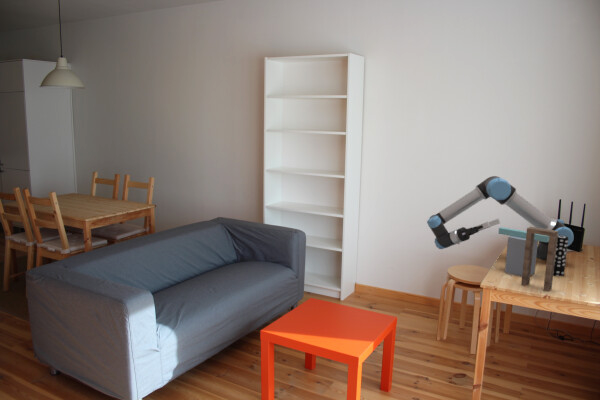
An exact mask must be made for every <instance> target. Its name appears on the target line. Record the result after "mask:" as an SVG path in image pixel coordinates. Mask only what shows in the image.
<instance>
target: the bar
mask: <svg viewBox="0 0 600 400" xmlns="http://www.w3.org/2000/svg"><path fill="white" fill-rule="evenodd" d="M526 234H527V230H520V229H516V228H515V229H514V228H510V227H509V228H508V227H503V226H502V227H498V235H503V236H508V237H510V236H514V237H520V238H525V239H526ZM534 240H536V241H538V242H539V241H542V242H549V236H545V235H539V234H535V236H534Z"/></svg>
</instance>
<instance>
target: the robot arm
mask: <svg viewBox="0 0 600 400" xmlns="http://www.w3.org/2000/svg"><path fill="white" fill-rule="evenodd" d="M489 198H491V199H493V200H495V201H496V202H497V203H499V204H500V205H501V206H503V205H506V206H507V207H508V208H510V209H511V210H512V211H513V212H515V213H516V214H518V216H520V217H521V218H523V219H524V220H525V221H526V222H528V223H529V224H530V225H532V227H536V228H542V229H548V230H554V231H558V235H563V236H567V237H568V246H567V247H569V246H570V245H572V243H573V242H574V238H575V237H574V232H573V231H572V229H571V228H570V227H567V226H566V225H565V221H564V220H563V219H556V218H550V217H549V216H548V215H546V214H545V213H544V212H543V211H541V210H540V209H539V208H537V207H536V206H535V205H533V204H532V203H530V202H529V201H528V200H527V199H525V198H524V197H523V196H521V195H520V194H519V193H518V192H517V188H516V187H514V186H513V185H512V184H510V183H509V182H508V180H506V179H504V178H503V177H500V176H496V175H494V176H493V175H492V176H489V177H487V178H485V179H484V180H483V181H481V182H480V183H479V184H477V185H476V186H475V188H474V189H472V190H471V191H470V192H468V193H467V194H465V195H464V196H462V197H460V198H458V199H457V200H456V201H455V202H453V203H451V204H450V205H448V206H446V207H445V208H443V209H442V210H441V211H439V212H437V213H435V214H432V215H430V217H428V219H427V220H426V224H427V225H428V227H429V229H430V230H431V232H432V234H433V235H434V236H435V238H434V244H435V246H436V248H437V249H439V250H443V249H447V248H450V247H452V246H455V245H460V243H463V242H466V241H468V240H470V236H472V235H475V234H478V233H479V232H480V231H483V230H485V229H488V228H491V227H494V226H497V225H500V224H501V221H500V219H499V218H496V219H494V220H492V221H491V220H490V221H486V222H483V223H481V224H478V225H476V226H475V225H474V226H473V227H468V228H466V227H464V226H462V227H460V228H458V229H454V230H453V231H450V232H449V231H448V229H447V228H446V226H445V224H446V223H448V222H449V221H451V220H453V219H454V218H456V217H458V216H459V215H461V214H462V213H463V212H466V211H467V210H468V209H469V208H471V207H473V206H474V205H476V204H478V203H479V202H481V201H482V200H484V201H486V200H487V199H489ZM548 245H549V242H542V241H538V246H537V255H536V259H540V260H544V261H547V254H548Z"/></svg>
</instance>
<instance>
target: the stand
mask: <svg viewBox="0 0 600 400" xmlns="http://www.w3.org/2000/svg"><path fill="white" fill-rule="evenodd" d="M526 231H527V234H526V244H525V253H524V263H523V273H522V276H521V282H520V283H521V286H523V287H527V286H529V285H530V283H531V282H530V281H531V275H530V274H531V264H532V255H533V245H534V236H535V234H539V235H545V236H549V245H548V254H547V260H546V263H545V264H546V265H545V274H544V280H543V281H544V283H543V291H544V292H550V291H551V290H552V288H553V281H554V280H553V278H554V276H553V273H554V264H555V255H556V247H557V238H558V231H554V230H548V229H542V228H536V227H534V226H530V227H527V228H526Z"/></svg>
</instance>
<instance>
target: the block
mask: <svg viewBox="0 0 600 400" xmlns="http://www.w3.org/2000/svg"><path fill="white" fill-rule="evenodd" d="M525 244H526V239H525V238H520V237H514V236H508V237H507V244H506V258H505V266H504V267H505V269H504V273H506V274H509V275H515V276H518V277H522V273H523V263H524V253H525ZM538 244H539V241H536V240H534V245H533V255H532V264H531V274H530V276H533V275H535V272H536V265H537V257H536V255H537V246H538Z"/></svg>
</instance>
